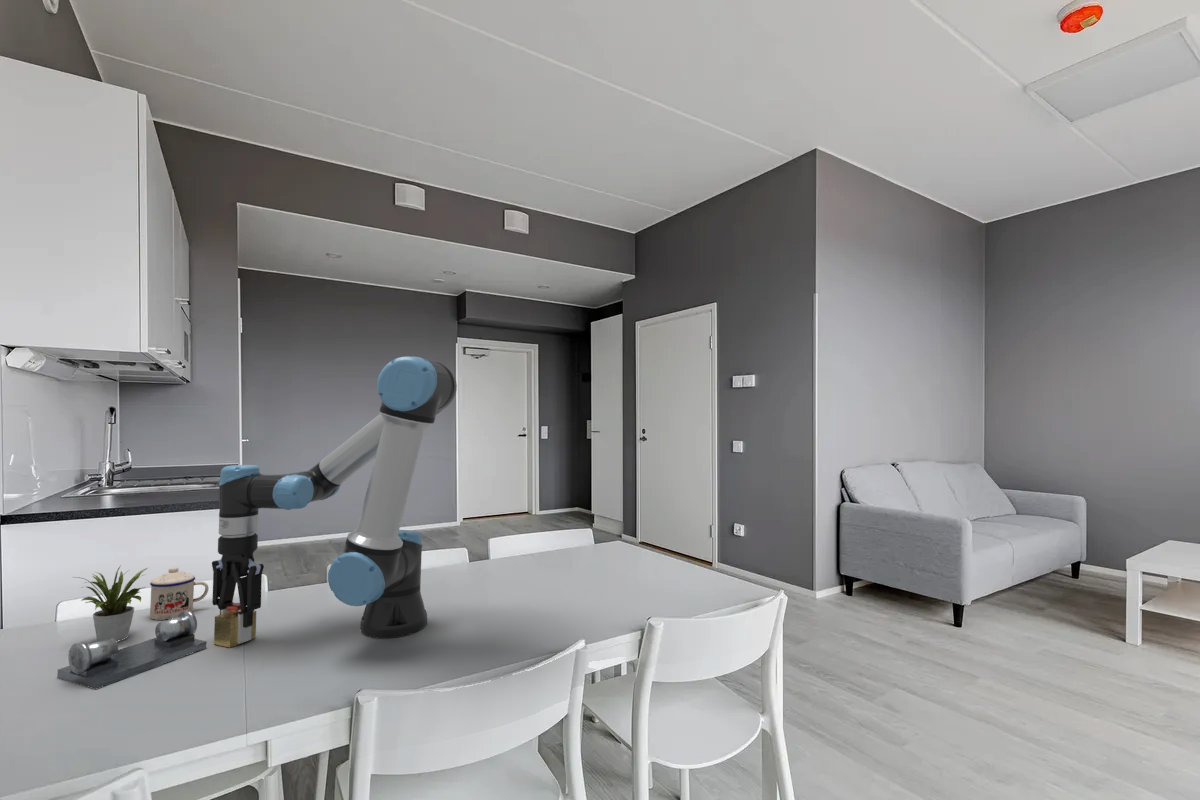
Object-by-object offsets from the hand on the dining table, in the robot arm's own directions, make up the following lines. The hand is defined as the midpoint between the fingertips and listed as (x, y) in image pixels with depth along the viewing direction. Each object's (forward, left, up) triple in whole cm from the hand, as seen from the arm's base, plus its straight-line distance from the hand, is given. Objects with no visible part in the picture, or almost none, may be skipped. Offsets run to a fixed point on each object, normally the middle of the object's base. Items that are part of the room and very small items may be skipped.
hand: (235, 639), depth 126 cm
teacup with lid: (+30, -7, -1) cm, 31 cm away
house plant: (+26, +11, -1) cm, 28 cm away
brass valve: (0, 0, 0) cm, 0 cm away
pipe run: (+8, +15, 0) cm, 17 cm away
